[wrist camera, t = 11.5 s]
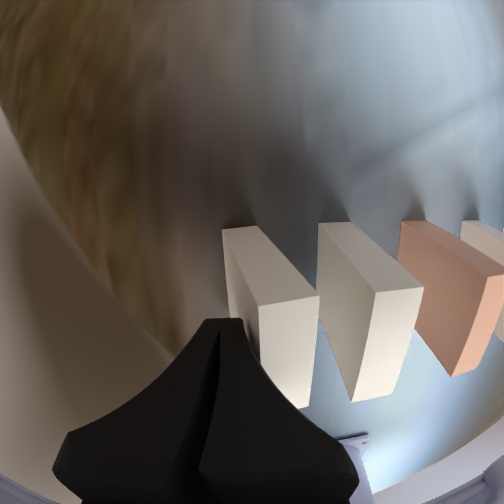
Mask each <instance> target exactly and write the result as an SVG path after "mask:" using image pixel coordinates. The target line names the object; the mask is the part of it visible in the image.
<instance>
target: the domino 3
mask: <svg viewBox="0 0 504 504" xmlns="http://www.w3.org/2000/svg"><path fill="white" fill-rule="evenodd" d="M397 262H398V263H399V264H400V265H401V266H403V267H404V268H405V269H406V270H407V271H408V272H409V273H410V274H411V275H412V276H413V277H415V278H416V279H417V280H418V281H419V282H420V283H421V284H422V285H423V286H424V291H423V295H422V299H421V303H420V308H419V312H418V315H417V319H416V323H415V327H414V328H415V329H416V331H417V332H418V333H419V335H420V336H421V337H422V338H423V340H424V341H425V342H426V344H427V345H428V346H429V348H430V349H431V350H432V352H433V353H434V355H435V356H436V357H437V359H438V360H439V361H440V363H441V364H442V366H443V367H444V368H445V370H446V371H447V373H448V374H449V375H450V377H453V376H456V375H459V374H462V373H465V372H467V371H470V370H473V369H475V368H477V367H478V365H479V363H480V360H481V358H482V356H483V354H484V352H485V350H486V347H487V345H488V343H489V340H490V338H491V336H492V333H493V331H494V328H495V326H496V323H497V320H498V318H499V315H500V312H501V309H502V307H503V304H504V266H502V265H501V264H499V263H498V262H496V261H495V260H493V259H491V258H490V257H488V256H487V255H485V254H483V253H482V252H480V251H479V250H477V249H475V248H474V247H472V246H470V245H469V244H467V243H465V242H464V241H462V240H460V239H459V238H457V237H455V236H453V235H452V234H450V233H448V232H446V231H445V230H443V229H441V228H439V227H437V226H435V225H434V224H432V223H430V222H428V221H426V220H406V221H401V231H400V240H399V248H398V255H397Z"/></svg>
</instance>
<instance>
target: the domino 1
mask: <svg viewBox="0 0 504 504" xmlns="http://www.w3.org/2000/svg"><path fill="white" fill-rule="evenodd" d="M222 238H223V250H224V261H225V272H226V283H227V293H228V304H229V314H230V317H231V318H241V319H242V320H243V324H244V329H245V333H246V335H247V338H248V340H249V343H250V345H251V347H252V349H253V351H254V353H255V355H256V357H257V358H258V360H259V362H260V364H261V365H262V367H263V368H264V370H265V371H266V373H267V374H268V376H269V377H270V379H271V380H272V381H273V383H274V384H275V385H276V386H277V388H278V389H279V390H280V391H281V392H282V393H283V395H284V396H285V397H286V398H287V399H288V400H289V401H290V402H291V403H292V404H293V405H294V406H295V407H296V408H297V409H300V408H304V407H307V406H309V398H310V391H311V383H312V375H313V366H314V357H315V347H316V337H317V326H318V313H319V300H320V295H319V294H318V293H317V292H316V290H315V289H314V288H313V287H312V286H311V285H310V284H309V283H308V281H307V280H306V279H305V278H304V277H303V276H302V275H301V274H300V272H299V271H298V270H297V269H296V268H295V267H294V266H293V265H292V264H291V262H290V261H289V260H288V259H287V258H286V257H285V256H284V255H283V254H282V253H281V251H280V250H279V249H278V248H277V247H276V246H275V245H274V244H273V243H272V242H271V240H270V239H269V238H268V237H267V236H266V235H265V234H264V233H263V232H262V231H261V230H260V228H259V227H258V226H249V227H240V228H231V229H222Z"/></svg>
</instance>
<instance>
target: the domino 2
mask: <svg viewBox="0 0 504 504" xmlns="http://www.w3.org/2000/svg"><path fill="white" fill-rule="evenodd" d="M423 291H424V286H423V285H422V284H421V283H420V282H419V281H418V280H417V279H416V278H415V277H413V276H412V275H411V274H410V273H409V272H408V271H407V270H406V269H405V268H404V267H403V266H401V265H400V264H399V263H398V262H397V261H396V260H395V259H394V258H393V257H391V256H390V255H389V254H388V253H387V252H386V251H385V250H383V249H382V248H381V247H380V246H379V245H378V244H376V243H375V242H374V241H373V240H372V239H371V238H369V237H368V236H367V235H366V234H365V233H363V232H362V231H361V230H360V229H359V228H357V227H356V226H355V225H354V224H353V223H351V222H332V223H318V257H317V279H316V292H317V293H318V294H319V295H320V300H319V313H318V315H319V317H320V320H321V323H322V325H323V328H324V330H325V333H326V335H327V338H328V341H329V343H330V346H331V349H332V351H333V354H334V357H335V359H336V362H337V365H338V367H339V370H340V373H341V375H342V378H343V381H344V384H345V386H346V389H347V392H348V395H349V398H350V400H351V403H352V402H358V401H363V400H368V399H373V398H378V397H382V396H387V395H391V394H392V393H393V390H394V387H395V385H396V382H397V379H398V377H399V374H400V371H401V368H402V365H403V362H404V359H405V356H406V353H407V350H408V347H409V344H410V340H411V337H412V334H413V330H414V327H415V323H416V319H417V315H418V312H419V308H420V303H421V299H422V295H423Z"/></svg>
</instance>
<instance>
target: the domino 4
mask: <svg viewBox="0 0 504 504" xmlns="http://www.w3.org/2000/svg"><path fill="white" fill-rule="evenodd" d="M459 239H460V240H462V241H464V242H465V243H467V244H469V245H470V246H472V247H474V248H475V249H477V250H479V251H480V252H482V253H483V254H485V255H487V256H488V257H490V258H491V259H493V260H495V261H496V262H498V263H499V264H501V265H502V266H504V232H502V231H500V230H498V229H496V228H494V227H492V226H490V225H488V224H486V223H484V222H482V221H479V220H462V225H461V232H460V238H459ZM493 332H494V333H495V334H496V335H497V336H498V337H499V338H500V339H501V340H502V341H503V342H504V304H503V307H502V309H501V312H500V315H499V318H498V320H497V323H496V326H495V328H494V331H493Z"/></svg>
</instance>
